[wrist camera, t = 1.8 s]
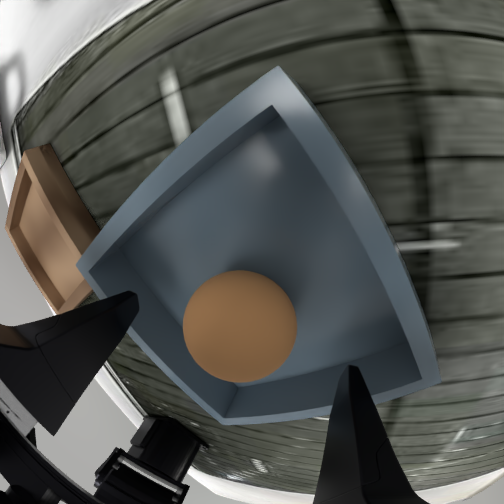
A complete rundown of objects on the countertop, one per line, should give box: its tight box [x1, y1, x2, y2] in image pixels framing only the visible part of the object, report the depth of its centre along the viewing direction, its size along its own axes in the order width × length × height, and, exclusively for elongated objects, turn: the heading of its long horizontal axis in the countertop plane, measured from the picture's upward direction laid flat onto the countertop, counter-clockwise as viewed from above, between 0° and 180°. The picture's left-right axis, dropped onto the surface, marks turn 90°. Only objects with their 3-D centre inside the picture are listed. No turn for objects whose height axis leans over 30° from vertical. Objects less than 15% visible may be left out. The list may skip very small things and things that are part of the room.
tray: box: [5, 143, 101, 315], centre depth 16 cm, size 10×10×2 cm
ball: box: [183, 270, 297, 383], centre depth 11 cm, size 4×4×4 cm
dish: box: [76, 66, 442, 425], centre depth 12 cm, size 13×13×3 cm
